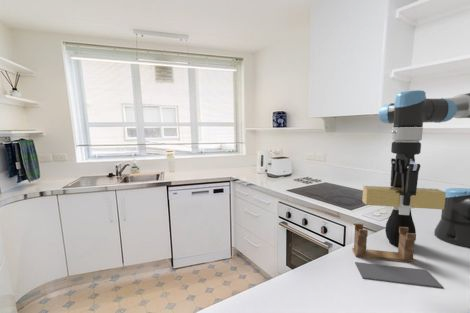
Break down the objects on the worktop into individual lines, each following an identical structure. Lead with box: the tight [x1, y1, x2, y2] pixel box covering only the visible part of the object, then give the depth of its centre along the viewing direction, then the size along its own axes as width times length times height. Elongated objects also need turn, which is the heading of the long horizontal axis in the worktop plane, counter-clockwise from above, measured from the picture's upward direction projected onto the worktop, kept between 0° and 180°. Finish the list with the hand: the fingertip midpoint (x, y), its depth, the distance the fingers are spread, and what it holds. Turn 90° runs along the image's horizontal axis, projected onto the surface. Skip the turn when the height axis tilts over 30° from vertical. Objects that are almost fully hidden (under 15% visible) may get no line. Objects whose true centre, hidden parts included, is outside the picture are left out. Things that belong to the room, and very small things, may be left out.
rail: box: [362, 185, 446, 210], centre depth 75 cm, size 22×4×6 cm, turn 77°
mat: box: [354, 261, 444, 289], centre depth 78 cm, size 23×9×1 cm, turn 77°
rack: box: [351, 222, 417, 264], centre depth 89 cm, size 20×6×11 cm, turn 77°
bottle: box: [385, 208, 417, 248], centre depth 97 cm, size 11×11×30 cm
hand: (400, 211), depth 76 cm, fingers closed on rail, 4 cm apart
